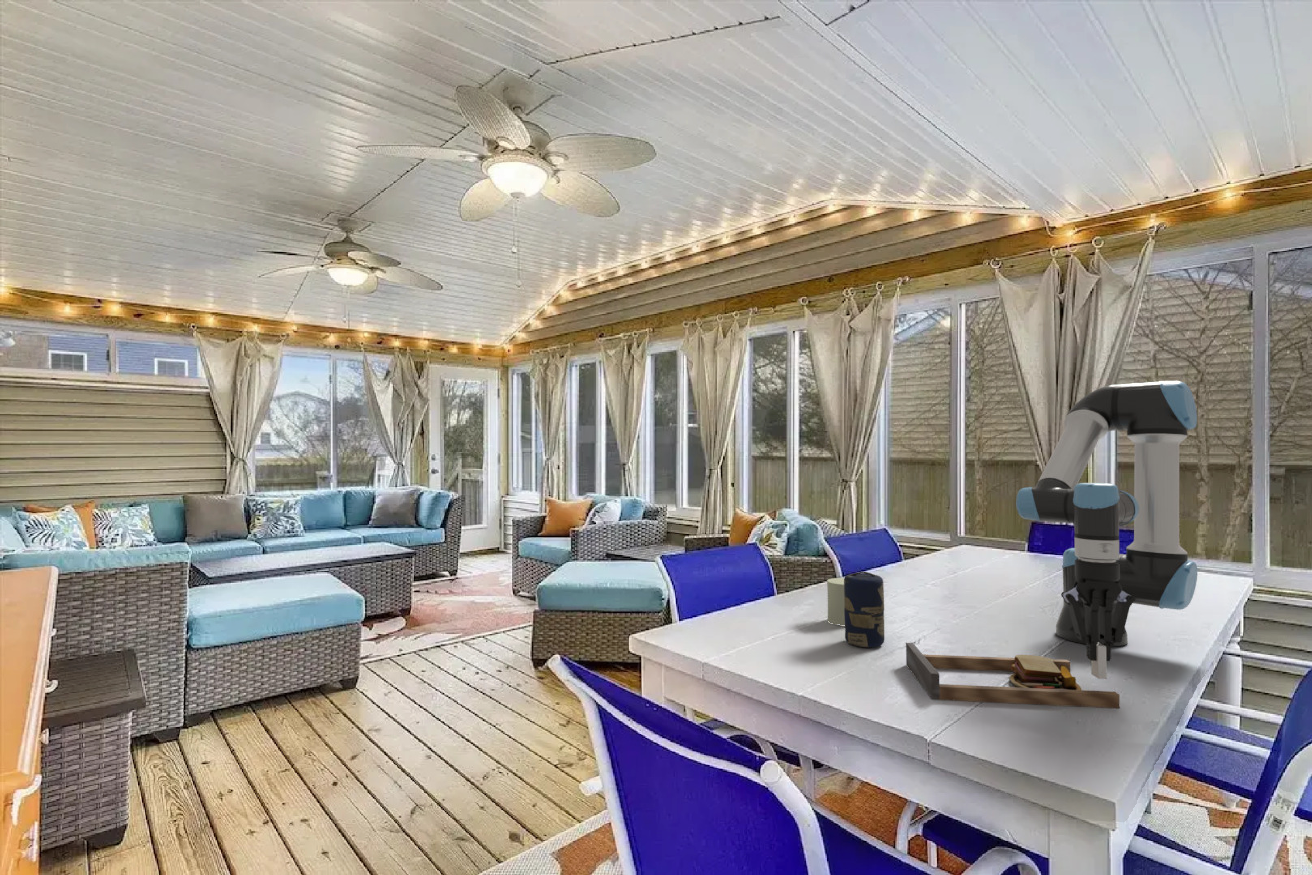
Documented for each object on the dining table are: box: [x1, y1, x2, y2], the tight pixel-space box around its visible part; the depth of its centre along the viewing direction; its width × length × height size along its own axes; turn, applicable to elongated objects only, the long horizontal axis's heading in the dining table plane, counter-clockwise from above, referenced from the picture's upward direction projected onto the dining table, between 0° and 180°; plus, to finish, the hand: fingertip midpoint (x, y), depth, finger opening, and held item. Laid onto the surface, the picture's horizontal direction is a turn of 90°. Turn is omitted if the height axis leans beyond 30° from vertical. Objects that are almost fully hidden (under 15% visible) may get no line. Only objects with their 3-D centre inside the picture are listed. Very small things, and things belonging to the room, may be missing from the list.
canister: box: [843, 571, 885, 648], centre depth 160 cm, size 10×10×18 cm
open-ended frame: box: [905, 642, 1121, 709], centre depth 132 cm, size 34×20×5 cm, turn 82°
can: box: [826, 577, 845, 625], centre depth 180 cm, size 9×9×12 cm
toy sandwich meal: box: [1009, 654, 1082, 690], centre depth 131 cm, size 12×14×5 cm
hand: (1099, 676), depth 130 cm, fingers closed
